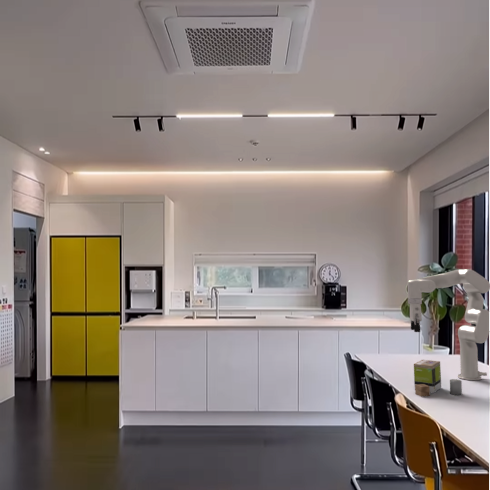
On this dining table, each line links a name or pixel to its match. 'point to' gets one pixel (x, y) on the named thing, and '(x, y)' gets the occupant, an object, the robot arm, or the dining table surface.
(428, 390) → the walnut block
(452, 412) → the dining table surface
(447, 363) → the dining table surface
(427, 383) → the tea box
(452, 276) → the robot arm
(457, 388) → the grey upright cylinder
